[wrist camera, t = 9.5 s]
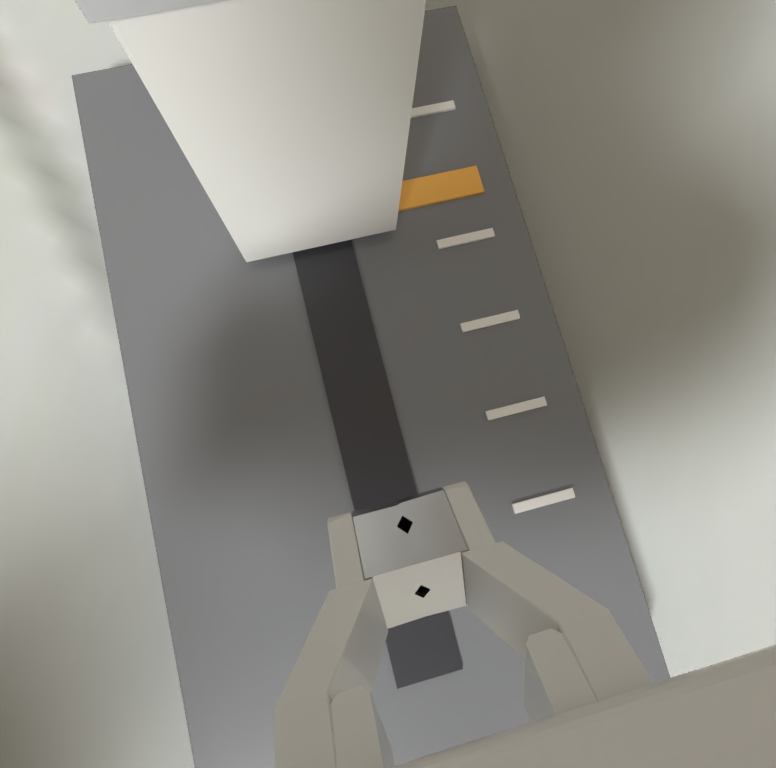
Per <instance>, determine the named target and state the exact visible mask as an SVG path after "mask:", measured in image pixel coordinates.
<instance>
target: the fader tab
mask: <svg viewBox="0 0 776 768" xmlns="http://www.w3.org/2000/svg"><path fill="white" fill-rule="evenodd" d="M75 2H76V3H77V5H78V6H79V8H80V10H81V11H82V13H83V14H84V16H85V18H86V19H87V21H88V23H89V24H93V23H99V22H105V21H108V22H109V24H110V26H111V28H112V29H113V31H114V33H115V35H116V36H117V38H118V40H119V42H120V43H121V45H122V47H123V49H124V50H125V52H126V54H127V55H128V57H129V59H130V61H131V62H132V64H133V66H134V68H135V69H136V71H137V73H138V75H139V76H140V78H141V80H142V82H143V83H144V85H145V87H146V89H147V90H148V92H149V94H150V95H151V97H152V99H153V101H154V102H155V104H156V106H157V108H158V109H159V111H160V113H161V115H162V116H163V118H164V120H165V122H166V123H167V125H168V127H169V129H170V130H171V132H172V134H173V135H174V137H175V139H176V141H177V142H178V144H179V146H180V148H181V149H182V151H183V153H184V155H185V156H186V158H187V160H188V162H189V163H190V165H191V167H192V169H193V170H194V172H195V174H196V175H197V177H198V179H199V181H200V182H201V184H202V186H203V188H204V189H205V191H206V193H207V195H208V196H209V198H210V200H211V202H212V203H213V205H214V207H215V209H216V210H217V212H218V214H219V216H220V217H221V219H222V221H223V222H224V224H225V226H226V228H227V229H228V231H229V233H230V235H231V236H232V238H233V240H234V242H235V243H236V245H237V247H238V249H239V250H240V252H241V254H242V256H243V257H244V259H245V261H246V262H251V261H255V260H260V259H264V258H269V257H274V256H278V255H283V254H287V253H292V252H296V251H301V250H305V249H310V248H315V247H319V246H324V245H328V244H333V243H337V242H342V241H347V240H351V239H356V238H360V237H365V236H369V235H374V234H379V233H383V232H388V231H392V230H396V225H397V218H398V210H399V203H400V195H401V188H402V180H403V173H404V165H405V157H406V150H407V142H408V135H409V127H410V120H411V112H412V104H413V97H414V89H415V82H416V74H417V67H418V59H419V52H420V44H421V36H422V29H423V21H424V14H425V6H426V0H75Z"/></svg>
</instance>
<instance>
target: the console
mask: <svg viewBox="0 0 776 768" xmlns="http://www.w3.org/2000/svg"><path fill="white" fill-rule="evenodd" d="M72 80H73V85H74V91H75V97H76V102H77V108H78V113H79V119H80V125H81V130H82V136H83V141H84V147H85V153H86V158H87V164H88V170H89V175H90V181H91V186H92V192H93V198H94V203H95V209H96V214H97V220H98V226H99V231H100V237H101V243H102V248H103V254H104V259H105V265H106V271H107V276H108V282H109V287H110V293H111V299H112V304H113V310H114V316H115V321H116V327H117V332H118V338H119V344H120V349H121V355H122V360H123V366H124V372H125V377H126V383H127V389H128V394H129V400H130V405H131V411H132V417H133V422H134V428H135V434H136V439H137V445H138V450H139V456H140V462H141V467H142V473H143V478H144V484H145V490H146V495H147V501H148V507H149V512H150V518H151V523H152V529H153V535H154V540H155V546H156V551H157V557H158V563H159V568H160V574H161V580H162V585H163V591H164V596H165V602H166V608H167V613H168V619H169V624H170V630H171V636H172V641H173V647H174V653H175V658H176V664H177V669H178V675H179V681H180V686H181V692H182V697H183V703H184V709H185V714H186V720H187V726H188V731H189V737H190V742H191V748H192V754H193V759H194V765H195V768H275V740H274V708H275V706H276V704H277V702H278V700H279V698H280V695H281V693H282V691H283V689H284V687H285V685H286V682H287V680H288V678H289V676H290V674H291V672H292V670H293V667H294V665H295V663H296V661H297V659H298V657H299V655H300V652H301V650H302V648H303V646H304V644H305V642H306V639H307V637H308V635H309V633H310V631H311V629H312V627H313V624H314V622H315V620H316V618H317V616H318V614H319V611H320V609H321V607H322V605H323V603H324V601H325V599H326V596H327V594H328V592H329V590H332V589H335V588H336V582H335V575H334V568H333V561H332V554H331V547H330V540H329V533H328V525H327V524H328V518H329V517H333V516H337V515H341V514H345V513H349V512H352V511H356V510H360V509H364V508H368V507H372V506H376V505H380V504H385V503H389V502H393V501H397V499H401V498H404V497H408V496H411V495H415V494H418V493H422V492H425V491H429V490H432V489H436V488H439V487H441V488H442V487H445V486H448V485H452V484H456V483H459V482H463V481H465V482H466V483H467V484H468V485H469V487H470V489H471V491H472V494H473V496H474V498H475V500H476V502H477V504H478V506H479V508H480V510H481V512H482V515H483V517H484V519H485V521H486V523H487V525H488V527H489V529H490V531H491V534H492V536H493V538H494V540H495V542H496V543H498V542H502V541H503V542H505V543H506V544H508V545H510V546H511V547H513V548H514V549H516V550H517V551H519V552H520V553H522V554H524V555H525V556H527V557H528V558H530V559H531V560H533V561H534V562H536V563H537V564H539V565H541V566H542V567H544V568H545V569H547V570H548V571H550V572H551V573H553V574H554V575H556V576H558V577H559V578H561V579H562V580H564V581H565V582H567V583H568V584H570V585H572V586H573V587H575V588H576V589H578V590H579V591H581V592H582V593H584V594H585V595H587V596H589V597H590V598H592V599H593V600H595V601H596V602H598V603H599V604H601V605H602V606H604V607H606V608H607V609H609V611H610V612H611V614H612V616H613V617H614V619H615V621H616V622H617V624H618V625H619V627H620V629H621V630H622V632H623V634H624V635H625V637H626V638H627V640H628V642H629V643H630V645H631V647H632V648H633V650H634V652H635V653H636V655H637V656H638V658H639V660H640V661H641V663H642V665H643V666H644V668H645V669H646V671H647V673H648V674H649V676H650V678H651V679H652V681H653V682H654V683H657V682H660V681H663V680H666V679H669V678H670V675H669V672H668V669H667V666H666V663H665V660H664V656H663V653H662V650H661V647H660V644H659V641H658V638H657V634H656V631H655V628H654V625H653V622H652V619H651V616H650V613H649V609H648V606H647V603H646V600H645V597H644V594H643V591H642V587H641V584H640V581H639V578H638V575H637V572H636V569H635V566H634V562H633V559H632V556H631V553H630V550H629V547H628V544H627V540H626V537H625V534H624V531H623V528H622V525H621V522H620V519H619V515H618V512H617V509H616V506H615V503H614V500H613V497H612V493H611V490H610V487H609V484H608V481H607V478H606V475H605V472H604V468H603V465H602V462H601V459H600V456H599V453H598V450H597V446H596V443H595V440H594V437H593V434H592V431H591V428H590V424H589V421H588V418H587V415H586V412H585V409H584V406H583V403H582V399H581V396H580V393H579V390H578V387H577V384H576V381H575V377H574V374H573V371H572V368H571V365H570V362H569V359H568V356H567V352H566V349H565V346H564V343H563V340H562V337H561V334H560V330H559V327H558V324H557V321H556V318H555V315H554V312H553V309H552V305H551V302H550V299H549V296H548V293H547V290H546V287H545V283H544V280H543V277H542V274H541V271H540V268H539V265H538V262H537V258H536V255H535V252H534V249H533V246H532V243H531V240H530V236H529V233H528V230H527V227H526V224H525V221H524V218H523V215H522V211H521V208H520V205H519V202H518V199H517V196H516V193H515V189H514V186H513V183H512V180H511V177H510V174H509V171H508V168H507V164H506V161H505V158H504V155H503V152H502V149H501V146H500V142H499V139H498V136H497V133H496V130H495V127H494V124H493V121H492V117H491V114H490V111H489V108H488V105H487V102H486V99H485V95H484V92H483V89H482V86H481V83H480V80H479V77H478V74H477V70H476V67H475V64H474V61H473V58H472V55H471V52H470V48H469V45H468V42H467V39H466V36H465V33H464V30H463V26H462V23H461V20H460V17H459V14H458V11H457V8H456V6H453V7H447V8H442V9H436V10H430V11H425V14H424V21H423V29H422V36H421V44H420V52H419V59H418V67H417V74H416V82H415V89H414V97H413V104H412V112H411V120H410V127H409V135H408V142H407V150H406V157H405V165H404V173H403V180H402V188H401V195H400V203H399V210H398V218H397V225H396V230H392V231H388V232H383V233H379V234H374V235H369V236H365V237H360V238H356V239H351V240H347V241H342V242H337V243H333V244H328V245H324V246H319V247H315V248H310V249H305V250H301V251H296V252H292V253H287V254H283V255H278V256H274V257H269V258H264V259H260V260H255V261H251V262H246V261H245V259H244V257H243V256H242V254H241V252H240V250H239V249H238V247H237V245H236V243H235V242H234V240H233V238H232V236H231V235H230V233H229V231H228V229H227V228H226V226H225V224H224V222H223V221H222V219H221V217H220V216H219V214H218V212H217V210H216V209H215V207H214V205H213V203H212V202H211V200H210V198H209V196H208V195H207V193H206V191H205V189H204V188H203V186H202V184H201V182H200V181H199V179H198V177H197V175H196V174H195V172H194V170H193V169H192V167H191V165H190V163H189V162H188V160H187V158H186V156H185V155H184V153H183V151H182V149H181V148H180V146H179V144H178V142H177V141H176V139H175V137H174V135H173V134H172V132H171V130H170V129H169V127H168V125H167V123H166V122H165V120H164V118H163V116H162V115H161V113H160V111H159V109H158V108H157V106H156V104H155V102H154V101H153V99H152V97H151V95H150V94H149V92H148V90H147V89H146V87H145V85H144V83H143V82H142V80H141V78H140V76H139V75H138V73H137V71H136V69H135V68H134V66H133V64H132V65H126V66H121V67H115V68H110V69H104V70H99V71H93V72H88V73H82V74H77V75H72ZM524 684H525V659H524V658H523V657H521V656H520V655H519V654H518V653H517V652H516V651H515V650H514V649H513V648H512V647H510V646H509V645H508V644H507V643H506V642H505V641H504V640H503V639H502V638H500V637H499V636H498V635H497V634H496V633H495V632H494V631H493V630H492V629H491V628H489V627H488V626H487V625H486V624H485V623H484V622H483V621H482V620H481V619H479V618H478V617H477V616H476V615H475V614H474V613H473V612H472V611H471V610H470V609H468V608H467V606H463V607H460V608H456V609H452V610H448V611H444V612H441V613H437V614H433V615H429V616H426V617H423V618H419V619H416V620H413V621H410V622H407V623H404V624H401V625H398V626H395V627H392V628H389V629H388V634H387V638H386V641H385V645H384V648H383V651H382V655H381V658H380V662H379V665H378V669H377V672H376V676H375V679H374V683H373V686H372V690H371V695H372V698H373V700H374V703H375V706H376V708H377V711H378V713H379V716H380V718H381V721H382V724H383V726H384V729H385V731H386V734H387V736H388V739H389V742H390V744H391V747H392V752H393V757H394V762H395V765H398V764H401V763H404V762H408V761H411V760H414V759H417V758H420V757H423V756H427V755H430V754H433V753H436V752H439V751H442V750H445V749H449V748H452V747H455V746H458V745H461V744H464V743H468V742H471V741H474V740H477V739H480V738H483V737H486V736H490V735H493V734H496V733H499V732H502V731H505V730H508V729H512V728H515V727H518V726H521V725H524V724H527V723H531V721H530V719H529V716H528V714H527V711H526V708H525V706H524Z"/></svg>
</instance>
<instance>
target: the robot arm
mask: <svg viewBox="0 0 776 768" xmlns="http://www.w3.org/2000/svg"><path fill="white" fill-rule="evenodd" d="M327 525H328V533H329V540H330V547H331V554H332V561H333V568H334V575H335V582H336V588H335V589H332V590H329V592H328V594H327V596H326V599H325V601H324V603H323V605H322V607H321V609H320V611H319V614H318V616H317V618H316V620H315V622H314V624H313V627H312V629H311V631H310V633H309V635H308V637H307V639H306V642H305V644H304V646H303V648H302V650H301V652H300V655H299V657H298V659H297V661H296V663H295V665H294V667H293V670H292V672H291V674H290V676H289V678H288V680H287V682H286V685H285V687H284V689H283V691H282V693H281V695H280V698H279V700H278V702H277V704H276V706H275V708H274V740H275V768H776V645H773V646H770V647H767V648H764V649H761V650H757V651H754V652H751V653H748V654H745V655H742V656H739V657H735V658H732V659H729V660H726V661H723V662H720V663H716V664H713V665H710V666H707V667H704V668H701V669H698V670H694V671H691V672H688V673H685V674H682V675H679V676H676V677H672V678H669V679H666V680H663V681H660V682H657V683H654V682H653V681H652V679H651V678H650V676H649V674H648V673H647V671H646V669H645V668H644V666H643V665H642V663H641V661H640V660H639V658H638V656H637V655H636V653H635V652H634V650H633V648H632V647H631V645H630V643H629V642H628V640H627V638H626V637H625V635H624V634H623V632H622V630H621V629H620V627H619V625H618V624H617V622H616V621H615V619H614V617H613V616H612V614H611V612H610V611H609V609H607V608H606V607H604V606H602V605H601V604H599V603H598V602H596V601H595V600H593V599H592V598H590V597H589V596H587V595H585V594H584V593H582V592H581V591H579V590H578V589H576V588H575V587H573V586H572V585H570V584H568V583H567V582H565V581H564V580H562V579H561V578H559V577H558V576H556V575H554V574H553V573H551V572H550V571H548V570H547V569H545V568H544V567H542V566H541V565H539V564H537V563H536V562H534V561H533V560H531V559H530V558H528V557H527V556H525V555H524V554H522V553H520V552H519V551H517V550H516V549H514V548H513V547H511V546H510V545H508V544H506V543H505V542H503V541H502V542H498V543H496V542H495V540H494V538H493V536H492V534H491V531H490V529H489V527H488V525H487V523H486V521H485V519H484V517H483V515H482V512H481V510H480V508H479V506H478V504H477V502H476V500H475V498H474V496H473V494H472V491H471V489H470V487H469V485H468V484H467V483H466V482H465V481H463V482H459V483H456V484H452V485H448V486H445V487H442V488H441V487H439V488H436V489H432V490H429V491H425V492H422V493H418V494H415V495H411V496H408V497H404V498H401V499H397V501H393V502H389V503H385V504H380V505H376V506H372V507H368V508H364V509H360V510H356V511H352V512H349V513H345V514H341V515H337V516H333V517H329V518H328V524H327ZM463 606H467V608H468V609H470V610H471V611H472V612H473V613H474V614H475V615H476V616H477V617H478V618H479V619H481V620H482V621H483V622H484V623H485V624H486V625H487V626H488V627H489V628H491V629H492V630H493V631H494V632H495V633H496V634H497V635H498V636H499V637H500V638H502V639H503V640H504V641H505V642H506V643H507V644H508V645H509V646H510V647H512V648H513V649H514V650H515V651H516V652H517V653H518V654H519V655H520V656H521V657H523V658H524V659H525V684H524V706H525V708H526V711H527V714H528V716H529V719H530V721H531V723H527V724H524V725H521V726H518V727H515V728H512V729H508V730H505V731H502V732H499V733H496V734H493V735H490V736H486V737H483V738H480V739H477V740H474V741H471V742H468V743H464V744H461V745H458V746H455V747H452V748H449V749H445V750H442V751H439V752H436V753H433V754H430V755H427V756H423V757H420V758H417V759H414V760H411V761H408V762H404V763H401V764H398V765H395V762H394V757H393V752H392V747H391V744H390V742H389V739H388V736H387V734H386V731H385V729H384V726H383V724H382V721H381V718H380V716H379V713H378V711H377V708H376V706H375V703H374V700H373V698H372V695H371V690H372V686H373V683H374V679H375V676H376V672H377V669H378V665H379V662H380V658H381V655H382V651H383V648H384V645H385V641H386V638H387V634H388V629H389V628H392V627H395V626H398V625H401V624H404V623H407V622H410V621H413V620H416V619H419V618H423V617H426V616H429V615H433V614H437V613H441V612H444V611H448V610H452V609H456V608H460V607H463Z"/></svg>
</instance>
